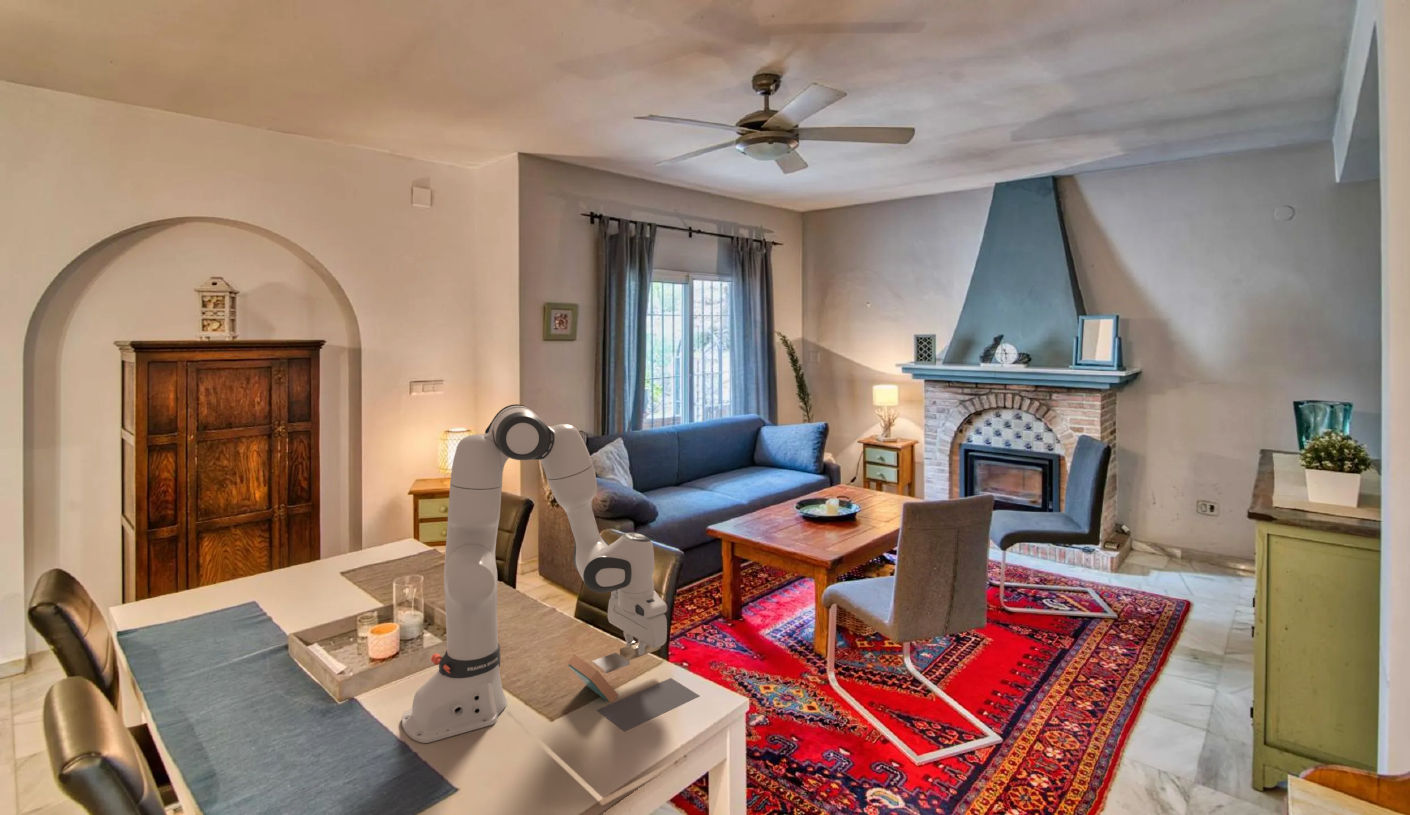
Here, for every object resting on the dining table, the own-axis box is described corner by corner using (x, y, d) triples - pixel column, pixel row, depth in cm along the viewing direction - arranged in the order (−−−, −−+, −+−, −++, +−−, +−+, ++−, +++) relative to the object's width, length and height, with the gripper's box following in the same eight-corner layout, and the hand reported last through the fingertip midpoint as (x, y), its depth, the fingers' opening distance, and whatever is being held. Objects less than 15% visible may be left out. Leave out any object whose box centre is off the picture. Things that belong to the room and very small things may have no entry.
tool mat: (624, 734, 147) (624, 731, 147) (596, 712, 155) (596, 709, 155) (700, 698, 162) (700, 695, 162) (670, 680, 170) (670, 677, 170)
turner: (605, 673, 160) (605, 663, 160) (591, 664, 164) (591, 654, 164) (665, 651, 172) (665, 642, 172) (650, 642, 176) (650, 634, 176)
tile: (610, 704, 159) (589, 679, 154) (587, 687, 167) (566, 663, 162) (618, 694, 160) (597, 670, 156) (595, 678, 168) (574, 654, 163)
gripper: (601, 588, 173) (601, 640, 175) (650, 614, 158) (650, 670, 160) (622, 582, 178) (621, 633, 179) (671, 607, 163) (670, 662, 164)
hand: (635, 651), depth 169 cm, fingers closed on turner, 2 cm apart
